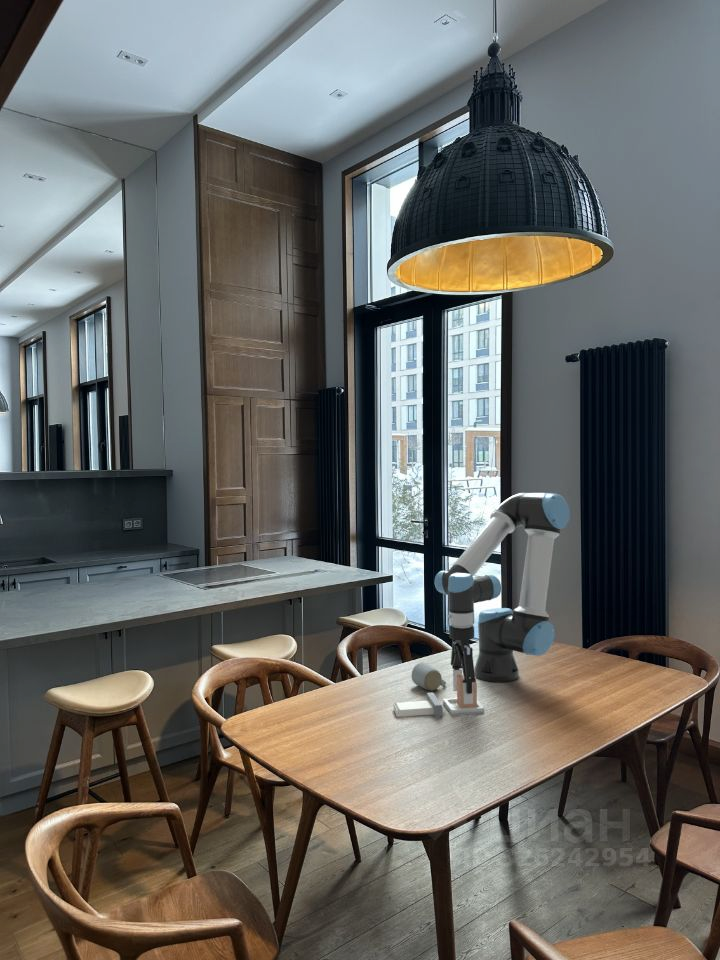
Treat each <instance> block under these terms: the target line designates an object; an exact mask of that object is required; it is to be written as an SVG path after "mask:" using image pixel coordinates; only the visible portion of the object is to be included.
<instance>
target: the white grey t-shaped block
mask: <svg viewBox="0 0 720 960" xmlns="http://www.w3.org/2000/svg"><path fill="white" fill-rule="evenodd" d="M392 704H393V712H394V713H395V715H396V717H398V718H400V717H401V718H403V717H413V716H414V717H415V716H425V715H427V716H428V715H429V716H430V715H434V717H435V718H442V717H443V714H444V706H443V705H442V704H443V703H441V702H440V700H439V699H438V697H437V696H436V694H435V693H434V692H426V700H419V701H417V700H416V701H406V702H404V701H403V702H402V701H401V702H393V703H392Z"/></svg>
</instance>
